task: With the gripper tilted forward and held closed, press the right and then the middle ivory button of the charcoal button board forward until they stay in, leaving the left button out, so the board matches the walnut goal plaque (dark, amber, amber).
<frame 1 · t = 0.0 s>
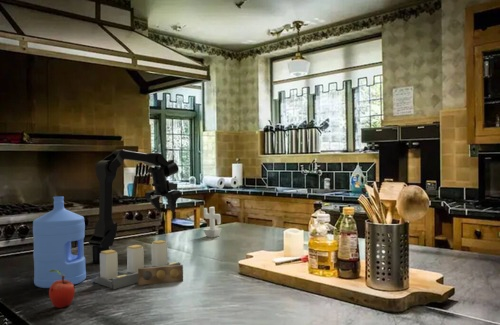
hand: (166, 212, 195), 15 cm above the counter, tool pointing down, fingers open, 9 cm apart
button middle: (135, 258, 145), point 6 cm above the counter, slide at 0.0 cm
apple: (61, 307, 115), on the counter
button right: (159, 253, 153), point 6 cm above the counter, slide at 0.0 cm
button board: (139, 276, 144), on the counter
figurine: (212, 236, 217), on the counter
button left: (108, 264, 138), point 6 cm above the counter, slide at 0.0 cm
goal plaque: (161, 282, 136), on the counter
water jug: (60, 282, 139), on the counter
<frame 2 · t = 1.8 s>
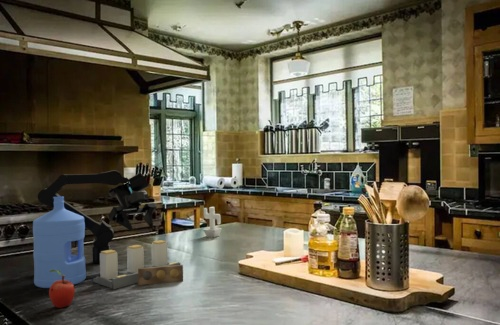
hand: (142, 228, 161), 14 cm above the counter, tool tilted 45°, fingers open, 9 cm apart
nothing on the counter moved.
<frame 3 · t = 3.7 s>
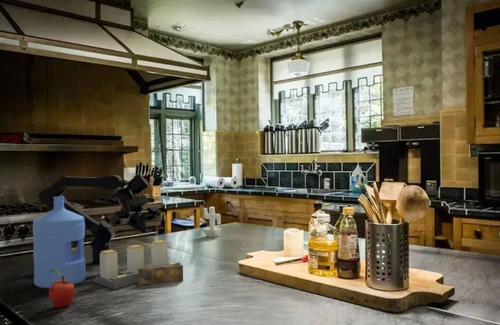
hand: (145, 232, 159), 12 cm above the counter, tool tilted 45°, fingers closed
nothing on the counter moved.
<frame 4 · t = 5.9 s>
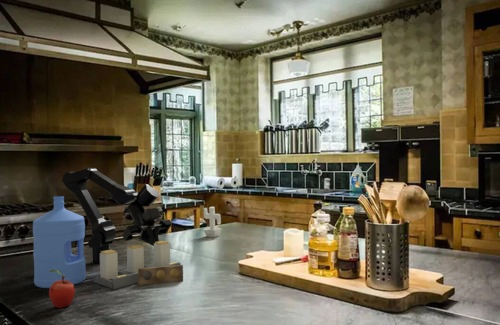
hand: (158, 247, 153), 8 cm above the counter, tool tilted 45°, fingers closed, pressing on button right
button right: (162, 253, 152), point 6 cm above the counter, slide at 1.5 cm, touching gripper
everything else where it was.
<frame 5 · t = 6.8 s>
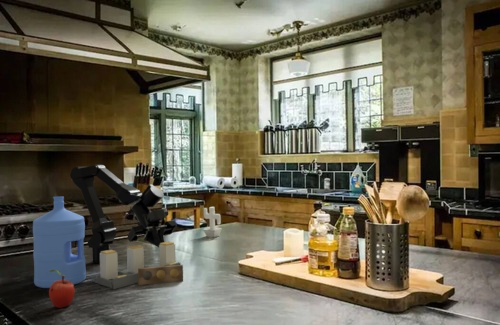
hand: (163, 248, 151), 8 cm above the counter, tool tilted 45°, fingers closed, pressing on button right
button right: (167, 255, 150), point 6 cm above the counter, slide at 4.6 cm, touching gripper
everything else where it was.
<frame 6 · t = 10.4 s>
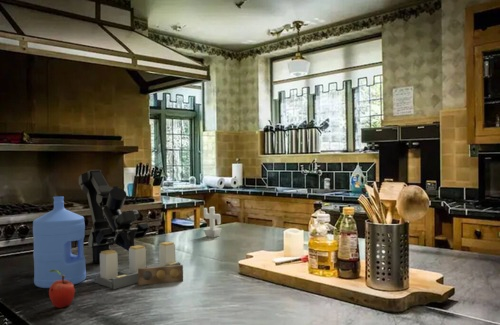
hand: (133, 252, 146), 8 cm above the counter, tool tilted 45°, fingers closed, pressing on button middle
button middle: (137, 259, 144), point 6 cm above the counter, slide at 1.3 cm, touching gripper
button right: (167, 255, 150), point 6 cm above the counter, slide at 4.6 cm
everything else where it was.
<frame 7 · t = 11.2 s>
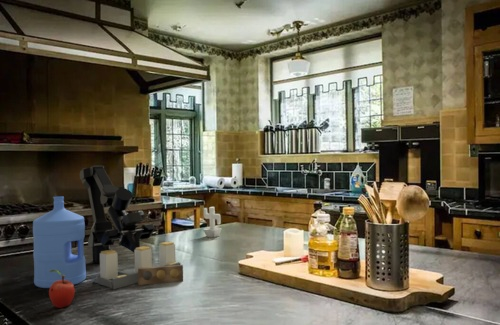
hand: (139, 253, 144), 8 cm above the counter, tool tilted 45°, fingers closed, pressing on button middle
button middle: (143, 260, 142), point 6 cm above the counter, slide at 4.5 cm, touching gripper
everything else where it was.
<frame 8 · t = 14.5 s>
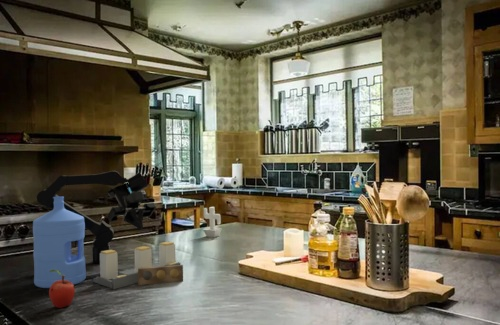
hand: (141, 228, 161), 14 cm above the counter, tool tilted 45°, fingers closed
button middle: (143, 260, 142), point 6 cm above the counter, slide at 4.6 cm
everything else where it was.
at the end: button middle slide at 4.6 cm; button right slide at 4.6 cm; button left slide at 0.0 cm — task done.
